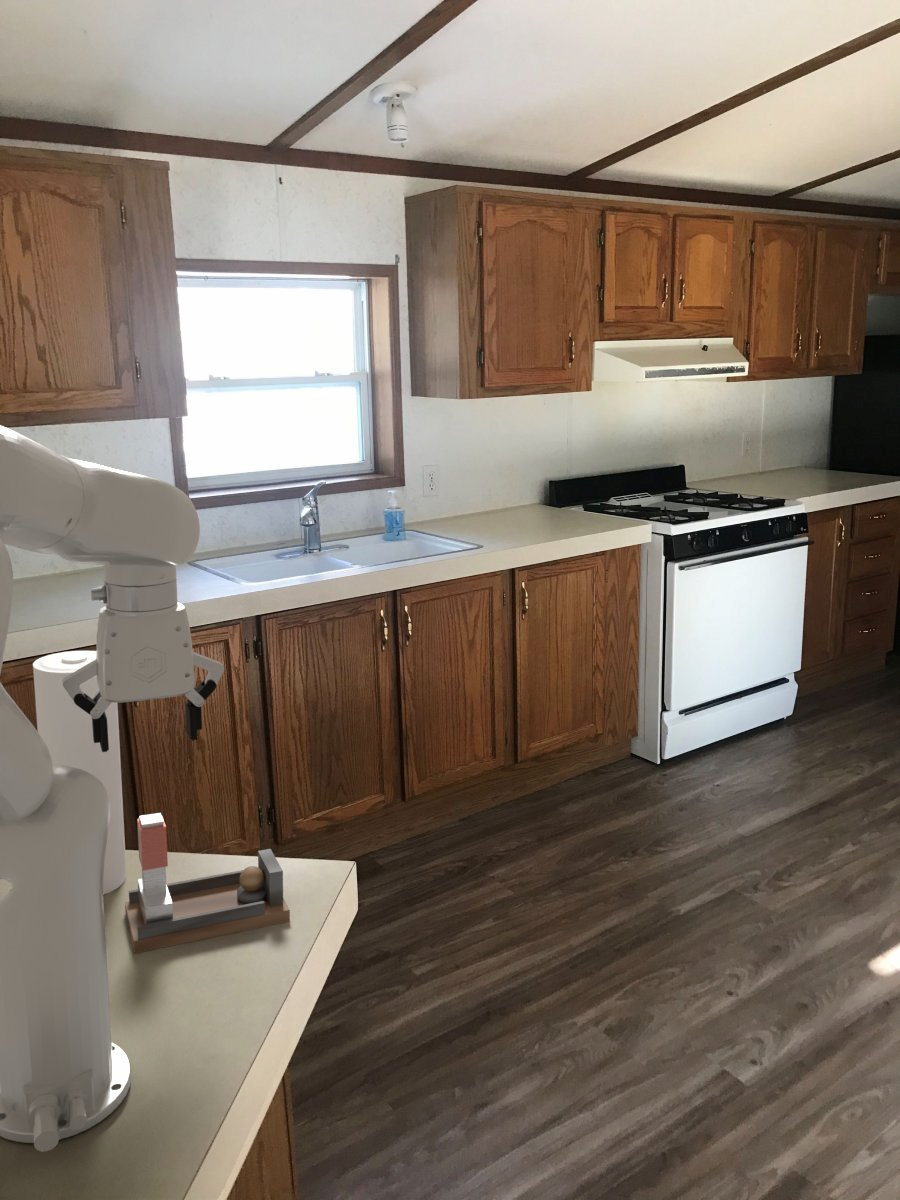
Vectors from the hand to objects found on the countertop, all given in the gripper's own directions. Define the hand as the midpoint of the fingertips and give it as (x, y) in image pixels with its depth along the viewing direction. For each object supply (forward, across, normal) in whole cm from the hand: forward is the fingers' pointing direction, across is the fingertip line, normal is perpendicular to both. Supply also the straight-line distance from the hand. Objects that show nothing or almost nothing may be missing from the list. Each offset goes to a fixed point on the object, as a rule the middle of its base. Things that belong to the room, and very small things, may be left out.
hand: (148, 741), depth 110 cm
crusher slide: (+22, 0, 0) cm, 22 cm away
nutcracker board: (+23, +6, 0) cm, 24 cm away
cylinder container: (+24, -7, +14) cm, 28 cm away
